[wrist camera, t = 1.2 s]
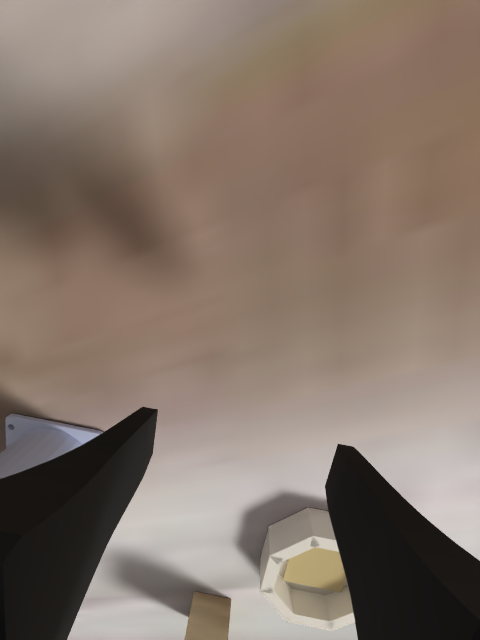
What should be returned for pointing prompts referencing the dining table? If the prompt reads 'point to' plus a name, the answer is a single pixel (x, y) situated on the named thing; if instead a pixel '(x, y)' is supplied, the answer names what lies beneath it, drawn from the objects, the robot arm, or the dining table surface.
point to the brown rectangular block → (208, 617)
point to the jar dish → (306, 572)
